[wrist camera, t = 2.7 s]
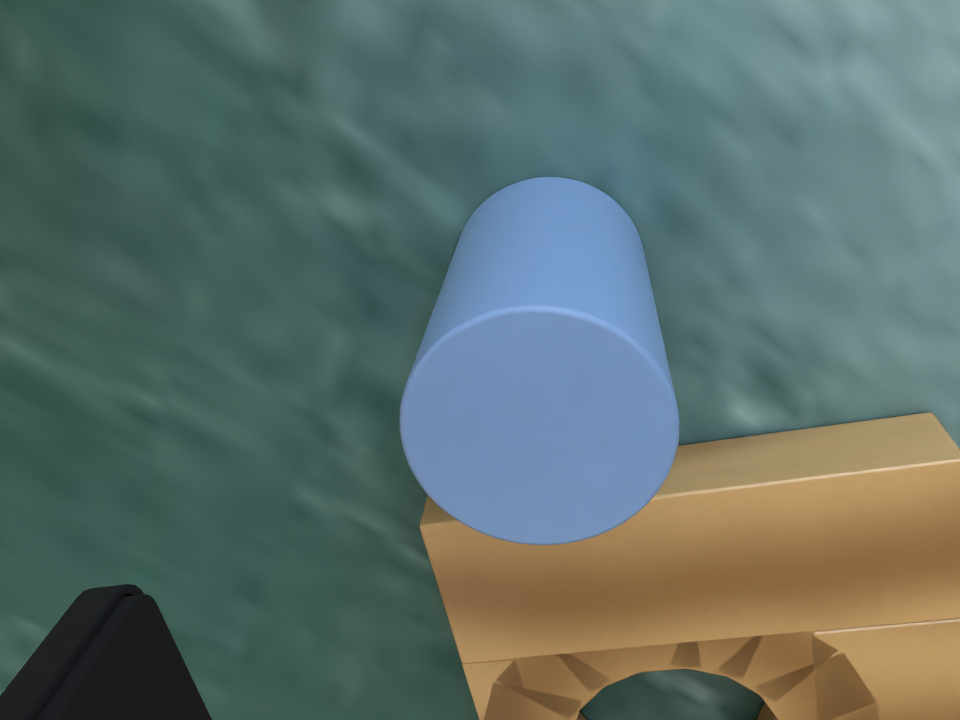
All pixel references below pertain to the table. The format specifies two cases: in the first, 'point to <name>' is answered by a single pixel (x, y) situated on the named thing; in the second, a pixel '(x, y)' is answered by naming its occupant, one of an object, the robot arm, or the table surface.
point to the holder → (734, 582)
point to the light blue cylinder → (543, 371)
